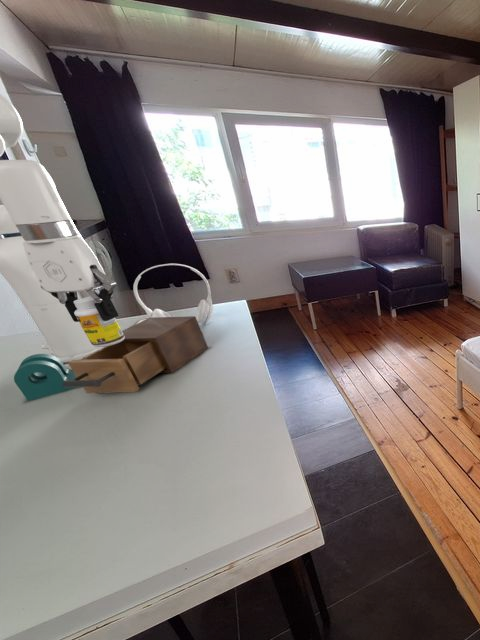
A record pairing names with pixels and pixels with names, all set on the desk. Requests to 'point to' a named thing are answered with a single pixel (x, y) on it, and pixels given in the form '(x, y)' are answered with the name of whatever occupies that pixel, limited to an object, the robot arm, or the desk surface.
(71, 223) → the robot arm
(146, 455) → the desk surface
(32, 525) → the desk surface
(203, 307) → the headphones
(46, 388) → the bracket
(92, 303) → the supplement bottle
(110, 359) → the drawer
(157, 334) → the cabinet
